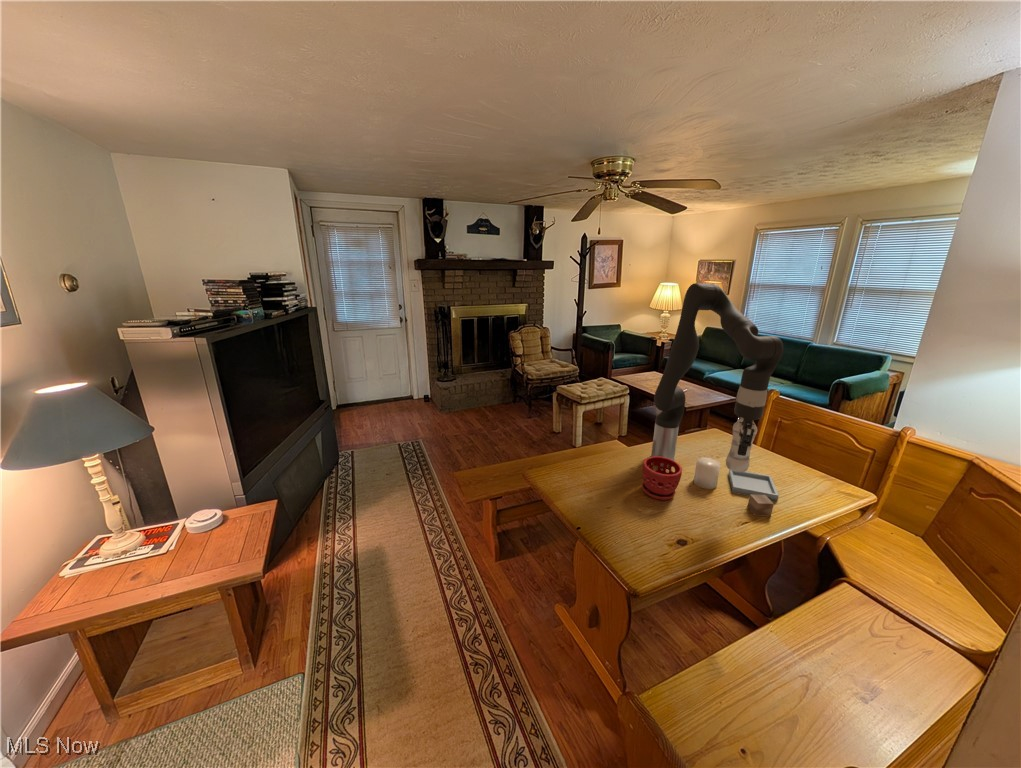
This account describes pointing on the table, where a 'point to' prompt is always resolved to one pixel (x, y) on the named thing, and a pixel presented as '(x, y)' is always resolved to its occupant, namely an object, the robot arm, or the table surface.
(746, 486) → the tray
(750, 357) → the robot arm
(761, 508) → the walnut block
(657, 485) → the plant pot
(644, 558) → the table surface
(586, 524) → the table surface
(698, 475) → the white domed cylinder
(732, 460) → the plastic bottle
